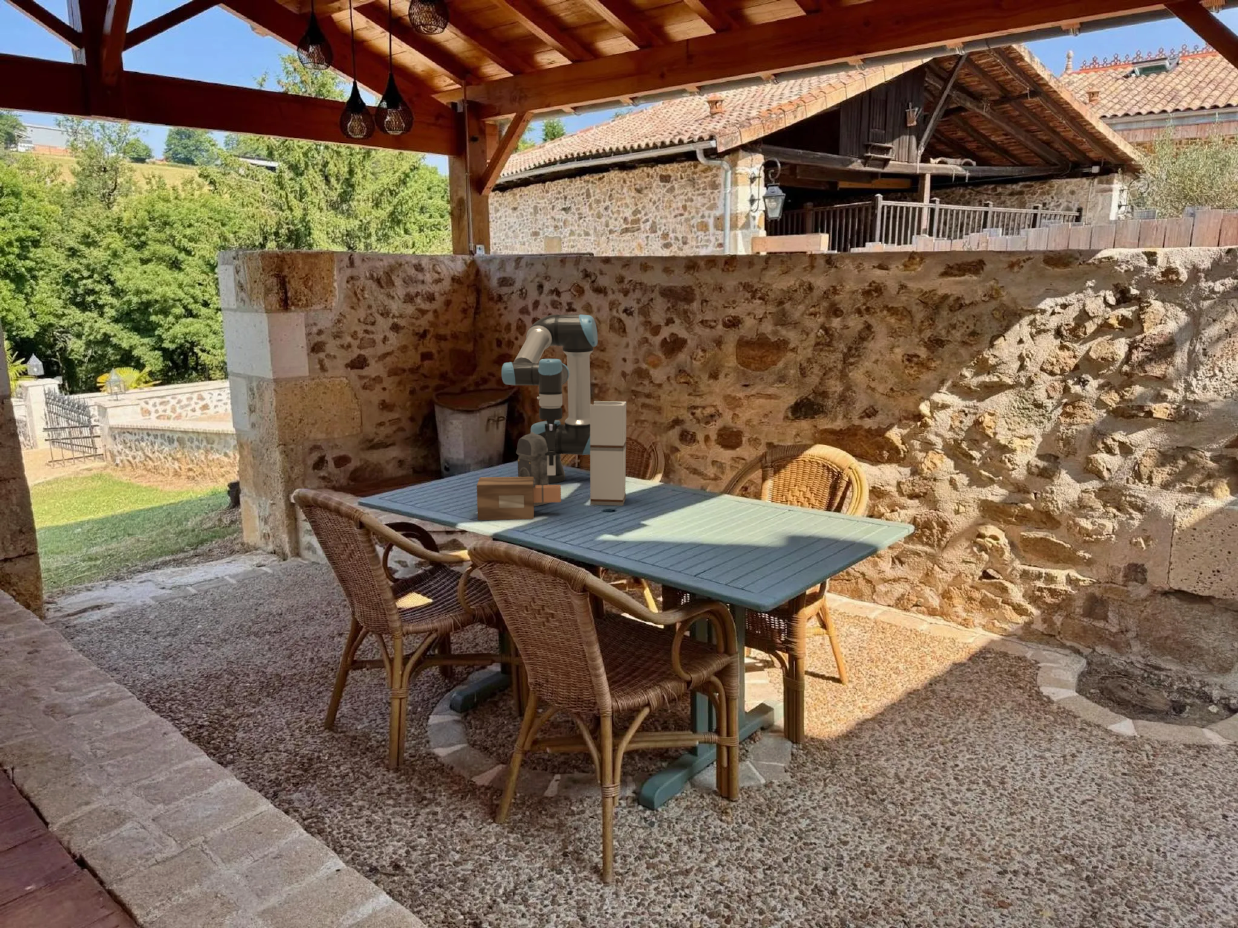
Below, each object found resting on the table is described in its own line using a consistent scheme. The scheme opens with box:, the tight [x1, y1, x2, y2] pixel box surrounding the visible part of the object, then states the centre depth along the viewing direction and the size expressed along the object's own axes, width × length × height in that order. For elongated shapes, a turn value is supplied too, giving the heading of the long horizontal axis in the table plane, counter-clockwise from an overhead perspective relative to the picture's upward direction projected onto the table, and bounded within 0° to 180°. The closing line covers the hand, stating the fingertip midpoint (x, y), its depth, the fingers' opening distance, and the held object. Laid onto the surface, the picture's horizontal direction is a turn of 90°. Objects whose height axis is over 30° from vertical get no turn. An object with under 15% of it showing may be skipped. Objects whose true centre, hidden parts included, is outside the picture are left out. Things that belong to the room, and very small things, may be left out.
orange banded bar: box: [533, 484, 562, 503], centre depth 272 cm, size 4×25×5 cm, turn 95°
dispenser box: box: [476, 476, 535, 521], centre depth 272 cm, size 12×19×12 cm, turn 95°
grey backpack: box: [515, 431, 551, 507], centre depth 288 cm, size 10×14×25 cm
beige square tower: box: [589, 400, 627, 507], centre depth 288 cm, size 11×11×35 cm
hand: (551, 471), depth 271 cm, fingers open, 13 cm apart
